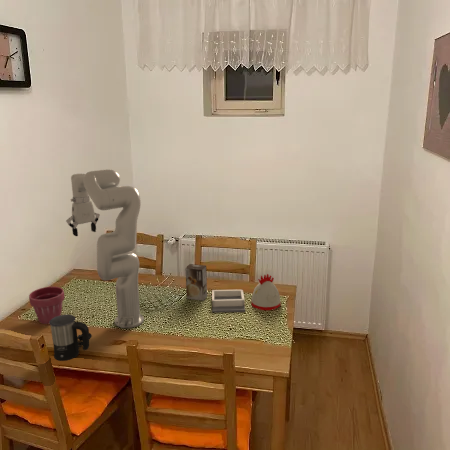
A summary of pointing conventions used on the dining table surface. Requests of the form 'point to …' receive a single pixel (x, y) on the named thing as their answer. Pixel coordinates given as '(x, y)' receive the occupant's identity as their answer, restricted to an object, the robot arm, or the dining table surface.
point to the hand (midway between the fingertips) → (84, 233)
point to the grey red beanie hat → (265, 295)
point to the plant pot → (47, 303)
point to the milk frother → (68, 337)
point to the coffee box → (196, 282)
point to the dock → (228, 301)
